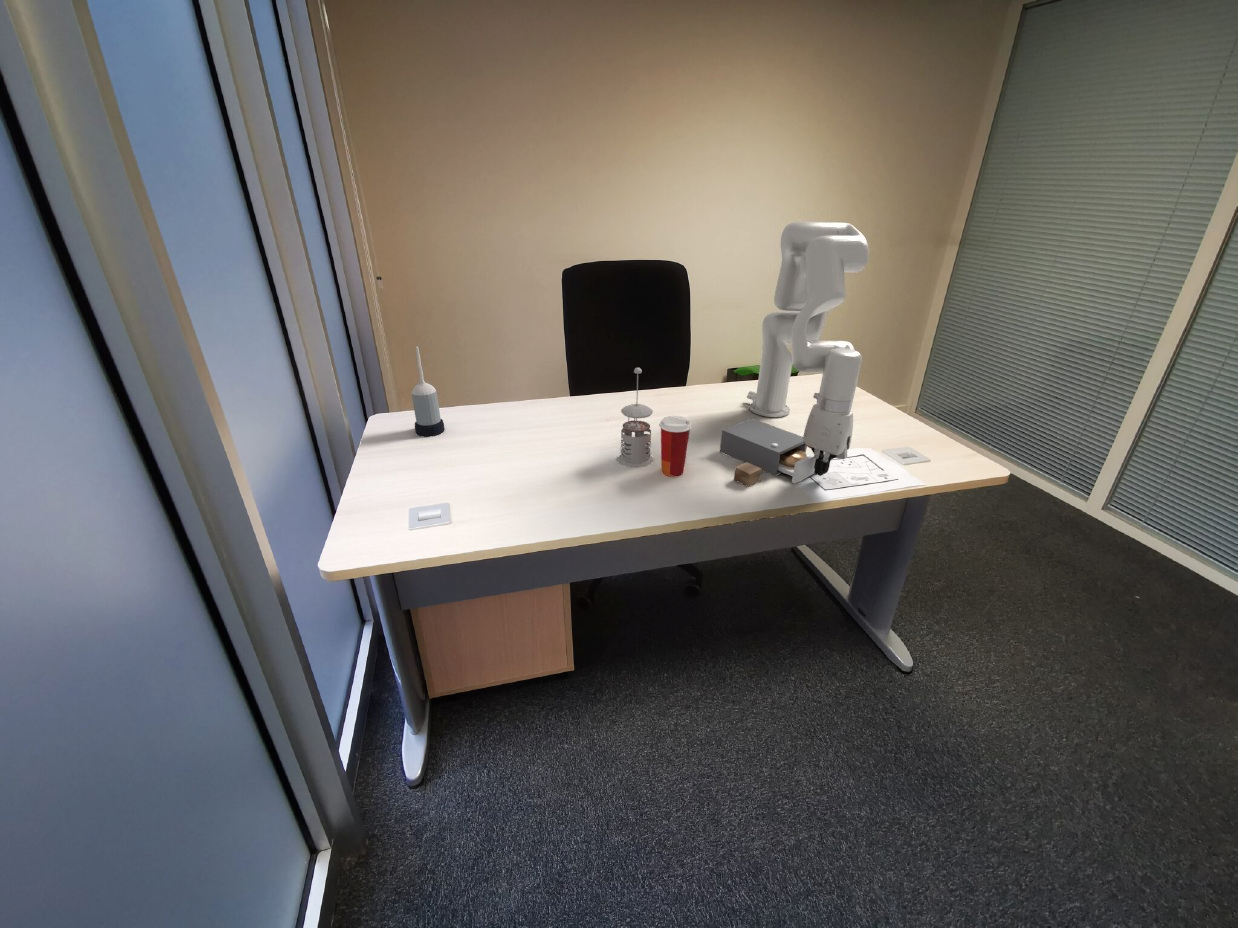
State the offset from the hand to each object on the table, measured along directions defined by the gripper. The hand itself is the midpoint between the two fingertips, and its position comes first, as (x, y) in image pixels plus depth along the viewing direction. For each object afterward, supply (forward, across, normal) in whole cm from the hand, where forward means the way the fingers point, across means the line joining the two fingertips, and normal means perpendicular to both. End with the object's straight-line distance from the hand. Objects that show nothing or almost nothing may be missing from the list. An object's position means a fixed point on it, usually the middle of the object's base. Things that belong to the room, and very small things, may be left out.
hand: (820, 473), depth 133 cm
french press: (+2, -38, -27) cm, 47 cm away
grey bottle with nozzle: (+2, -90, -62) cm, 109 cm away
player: (+2, -17, 0) cm, 17 cm away
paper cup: (+2, -26, -25) cm, 36 cm away
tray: (+2, -12, 0) cm, 12 cm away
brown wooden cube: (+2, -11, -14) cm, 18 cm away
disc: (0, -8, 0) cm, 8 cm away
